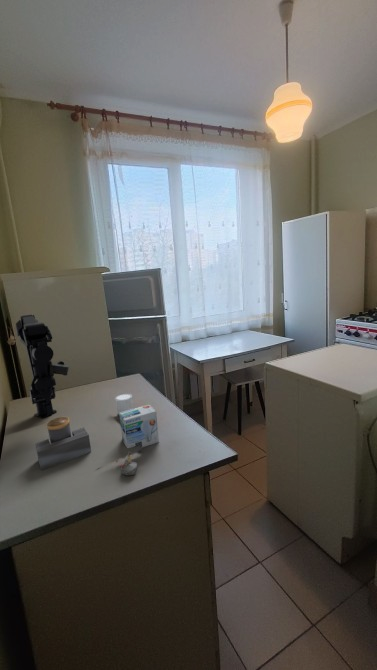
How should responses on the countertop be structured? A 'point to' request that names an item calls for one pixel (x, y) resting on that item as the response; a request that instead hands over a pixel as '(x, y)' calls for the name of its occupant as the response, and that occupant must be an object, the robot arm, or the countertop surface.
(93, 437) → the countertop surface
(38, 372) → the robot arm
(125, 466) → the figurine
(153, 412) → the light bulb box
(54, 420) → the gray cup
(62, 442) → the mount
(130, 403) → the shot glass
